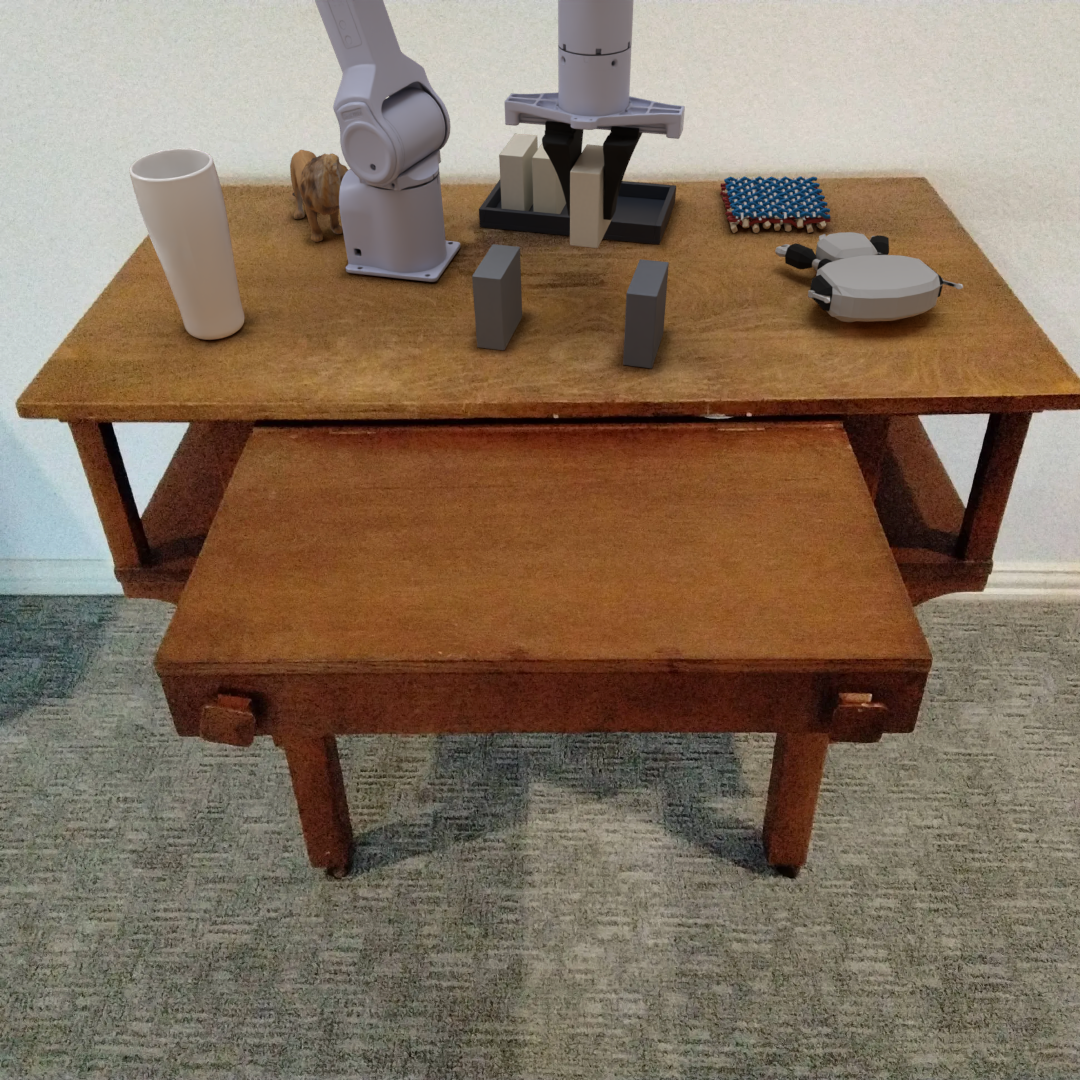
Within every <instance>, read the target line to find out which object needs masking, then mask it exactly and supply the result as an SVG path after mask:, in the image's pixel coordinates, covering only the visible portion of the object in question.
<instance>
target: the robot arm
mask: <svg viewBox="0 0 1080 1080" xmlns="http://www.w3.org/2000/svg"><path fill="white" fill-rule="evenodd" d="M314 2H315V5H316V8H317V10H318V13H319V15H320V18H321V21H322V23H323V26H324V28H325V31H326V34H327V36H328V39H329V40H330V44H331V47H332V49H333V51H334V54H335V57H336V59H337V63H338V65H339V67H340V69H341V72H342V76H341V80H340V83H339V86H338V89H337V93H336V95H335V97H334V102H333V105H332V110H333V112H334V115H335V117H336V119H337V120H336V121H337V124H338V127H339V143H340V149H341V153H342V156H343V158H344V160H345V162H346V164H347V166H348V167H349V169H348V171H347V172H346V173H345V175H344V177H343V179H342V182H341V185H340V192H339V216H340V221H341V226H342V228H343V233H342V234H343V241H344V246H345V252H346V259H347V262H348V263H347V265H346V266H345V272H346V273H347V274H348V273H349V274H356V275H366V276H374V277H382V278H383V277H384V278H391V279H392V278H393V279H401V280H410V281H421V282H428V283H435V282H437V281H438V280H439V279H440V277H441V276H442V274H443V273H444V272H445V270H446V268H447V267H448V266H449V265H450V263H451V262H452V260H453V258H454V257H455V256H456V254H457V253H458V251H459V250H460V249H461V243H460V242H459V241H453V240H446V228H445V217H444V207H443V196H442V195H443V194H442V185H441V183H442V182H441V173H440V164H441V162H442V158H441V157H442V156H441V150H442V149H443V148H444V147H445V146H446V144H447V143H448V141H449V138H450V135H451V119H450V118H451V117H450V115H449V112H448V108H447V107H446V104H445V103H444V101H443V100H442V98H441V97H440V96H439V95H438V94H437V93H436V91H435V90H434V88H433V87H432V85H431V83H430V81H429V78H428V76H427V72H426V70H425V68H424V66H422V65H421V64H419V63H418V62H417V61H415V60H414V59H412V58H411V57H409V56H407V55H406V54H405V53H403V51H402V50H401V47H400V45H399V41H398V39H397V37H396V36H397V35H396V33H395V29H394V28H393V24H392V22H391V19H390V16H389V13H388V10H387V7H386V4H385V1H384V0H314ZM633 23H634V0H557V63H558V64H557V68H558V69H557V70H558V71H557V74H558V75H557V76H558V78H557V79H558V82H557V84H558V86H557V88H558V90H557V91H558V92H540V93H539V92H538V93H515V92H512V93H510V94H509V95H508V97H507V98H506V99H505V100H504V124H505V126H512V127H513V126H515V127H517V126H519V125H520V124H527V125H539V126H541V125H542V126H544V135H543V136H542V138H541V144H543V148H544V150H545V152H546V153H547V155H548V157H549V159H550V160H551V162H552V164H553V166H554V168H555V171H556V173H557V175H558V178H559V181H560V183H561V186H562V190H563V193H564V197H565V201H566V205H567V211H568V216H570V171H571V170H572V168H573V166H574V165H575V163H576V161H577V160H578V158H579V156H580V155H581V153H582V152H583V141H584V140H583V139H584V131H585V130H586V131H594V130H602V131H603V130H605V131H610V132H609V134H607V136H606V138H605V140H604V142H603V143H602V146H603V155H604V169H605V190H604V201H603V218H604V219H605V220H611V219H612V217H613V215H614V213H615V211H616V204H617V199H618V194H619V190H620V186H621V183H622V181H624V176H625V174H626V171H627V168H628V165H629V164H630V161H631V159H632V156H633V154H634V151H635V149H636V148H637V145H638V143H639V141H640V139H641V137H642V136H643V134H651V135H652V134H653V135H664V136H665V137H666V138H667V139H676V140H679V139H680V138H681V136H682V134H683V131H684V122H685V121H684V120H685V110H686V106H685V105H677V104H670V103H665V102H658V101H654V100H649V99H645V98H640V97H636V96H631V95H630V90H631V67H632V45H633V25H634V24H633Z"/></svg>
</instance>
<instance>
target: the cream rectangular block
mask: <svg viewBox="0 0 1080 1080" xmlns="http://www.w3.org/2000/svg"><path fill="white" fill-rule="evenodd" d="M604 190H605V169H604V155H603V145H600V144H586V145H585V146H584V148H583V149H582V153H581V155H580V156H579V158H578V160H577V161H576V163H575V165H574V166H573V168H572V170H571V171H570V236H569V246H571V247H572V246H574V247H582V248H589V249H590V248H591V249H598V248H599V247H600V245H601V243H602V240H604V239H603V237H604V234H605V232H606V230H607V228H608V226H609V224H610V222H611V220H612V219H611V220H605V219H604V218H603V201H604Z"/></svg>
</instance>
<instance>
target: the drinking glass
mask: <svg viewBox="0 0 1080 1080" xmlns="http://www.w3.org/2000/svg"><path fill="white" fill-rule="evenodd" d="M128 174H129V177H130V182H131V185H132V188H133V193H134V196H135V200H136V204H137V206H138V209H139V212H140V215H141V217H142V221H143V223H144V226H145V229H146V231H147V234H148V237H149V239H150V242H151V243H152V247H153V249H154V251H155V254H156V256H157V258H158V261H159V263H160V265H161V268H162V271H163V273H164V275H165V278H166V280H167V283H168V285H169V287H170V290H171V293H172V295H173V298H174V300H175V303H176V306H177V308H178V310H179V311H178V312H179V314H180V316H181V319H182V323H183V327H184V328H185V331H186V332H187V333H188V334H189V335H190V336H191V337H193V338H196V339H199V340H205V341H206V340H208V341H211V340H220V339H224V338H227V337H230V336H232V335H234V334H236V333H237V332H238V331H240V330H241V329H242V328H243V326H244V324H245V320H246V315H245V311H244V308H243V303H242V300H241V299H242V298H241V293H240V287H239V282H238V275H237V268H236V262H235V255H234V250H233V243H232V237H231V230H230V223H229V217H228V212H227V207H226V202H225V197H224V194H223V189H222V186H221V181H220V177H219V174H218V171H217V167H216V164H215V161H214V157H213V156H212V155H211V154H210V153H208V152H206V151H205V150H202V149H198V148H189V147H188V148H187V147H181V148H180V147H179V148H177V147H176V148H168V149H162V150H158V151H153V152H151V153H148V154H145V155H143V156H140V157H138V158H137V159H135V160H134V161H133V162H132V163H131V164H130V165H129V168H128Z"/></svg>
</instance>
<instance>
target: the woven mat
mask: <svg viewBox="0 0 1080 1080" xmlns="http://www.w3.org/2000/svg"><path fill="white" fill-rule="evenodd" d="M817 180H818V177H816V176H810V177H808V176H805V177H803V176H802V175H798V177H792V178H790V177H788V176H786V175H784V176H783V177H781V176H779V177H777V178H776V177H774V176H769V177H767V176H764V177H762V176H760V175H758V176H757V177H755V176H753V177H752V178H749V177H747V176H746V175H744V176H742V177H740V176H738V177H736V178H735V177H734V176H728V177H725V178H724V179H723V181H724V183H720V190H721V191H720V193H719V195H720V196H722V197H721V199H722V202H723V203H724V206H725V210H726V211H725V212H724V215H725V216H727V217H726V220H727V222H729V227H730V230H731V231H732V234H735V233H737V232H738V231H739V229H738V226H737V225H740V226H741V227H742V228H743V229H748V228H750V227H751V229H752V232H753V233H754V234H758V233H759V232H760V225H759V224H761V225H762V228H763V229H764V230H768V229H770V228H771V226H772V224H773V229H774V231H775V232H776V231H777V232H779V231H780V229H781V227H782V226H781V225H783V228H784V231H786V232H791V231H792V226H793V227H795V228H797V229H803V228H804V226H805V228H806V231H807V234H809V233H813V232H814V228H813V224H816V227H817V228H818V229H820V230H823V229H825V228H826V227H827V223H831V219H832V218H831V214H830V213H831V209H830V208H828V207H827V206H828V204H829V203H828V201H823V200H825V198H826V196H825V195H822V192H823V189H821V188H820V185H821V184H820V183H819V182H816V181H817Z"/></svg>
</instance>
